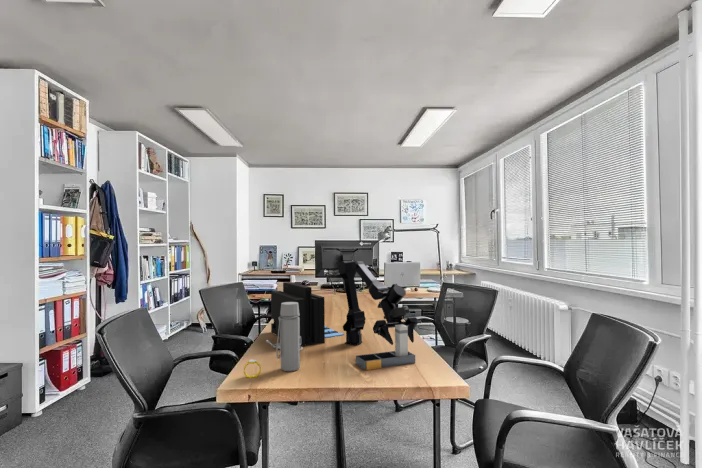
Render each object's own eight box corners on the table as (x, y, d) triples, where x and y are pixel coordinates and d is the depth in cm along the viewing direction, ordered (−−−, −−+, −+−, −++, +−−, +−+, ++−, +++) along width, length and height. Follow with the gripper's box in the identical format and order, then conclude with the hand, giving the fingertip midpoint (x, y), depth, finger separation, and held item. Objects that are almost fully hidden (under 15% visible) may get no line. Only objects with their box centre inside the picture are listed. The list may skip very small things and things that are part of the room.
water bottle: (294, 364, 152) (294, 301, 153) (303, 370, 146) (303, 303, 146) (272, 368, 147) (272, 303, 148) (280, 374, 141) (280, 306, 141)
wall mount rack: (307, 347, 175) (307, 334, 175) (289, 357, 163) (289, 343, 163) (279, 343, 182) (279, 331, 182) (260, 352, 170) (260, 339, 170)
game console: (271, 332, 207) (271, 282, 208) (321, 325, 222) (321, 279, 223) (296, 347, 177) (296, 289, 177) (353, 338, 192) (352, 284, 193)
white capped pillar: (395, 359, 155) (394, 325, 156) (403, 358, 157) (402, 324, 157) (400, 362, 152) (399, 327, 152) (408, 361, 153) (407, 326, 153)
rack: (364, 371, 143) (364, 362, 144) (355, 364, 151) (355, 355, 152) (415, 364, 151) (415, 355, 152) (405, 358, 159) (404, 349, 160)
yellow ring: (260, 375, 141) (261, 359, 141) (260, 378, 138) (261, 361, 139) (243, 376, 139) (244, 359, 140) (243, 378, 137) (244, 361, 137)
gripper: (375, 300, 155) (388, 334, 145) (415, 297, 162) (430, 329, 152) (367, 316, 162) (379, 350, 152) (406, 313, 169) (420, 344, 159)
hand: (402, 343), depth 153 cm, fingers open, 9 cm apart
